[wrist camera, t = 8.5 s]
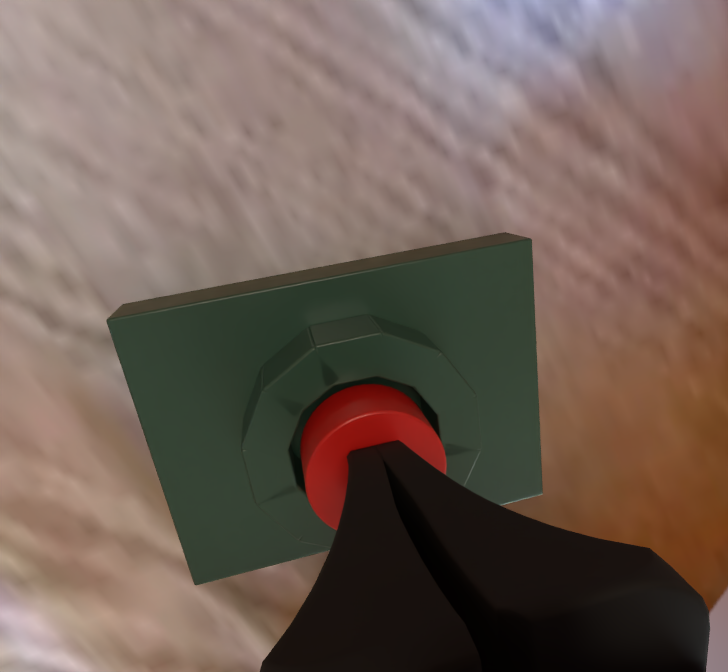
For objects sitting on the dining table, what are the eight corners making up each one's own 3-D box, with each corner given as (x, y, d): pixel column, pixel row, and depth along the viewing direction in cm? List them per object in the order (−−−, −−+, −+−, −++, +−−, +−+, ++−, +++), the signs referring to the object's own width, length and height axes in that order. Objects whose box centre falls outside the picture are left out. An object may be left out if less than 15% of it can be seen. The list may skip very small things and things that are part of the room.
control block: (200, 550, 18) (186, 634, 15) (121, 304, 15) (82, 340, 12) (520, 468, 19) (573, 528, 16) (506, 231, 16) (567, 246, 13)
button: (312, 511, 15) (319, 554, 13) (288, 399, 13) (292, 430, 12) (433, 481, 15) (454, 518, 13) (419, 370, 14) (440, 396, 12)
